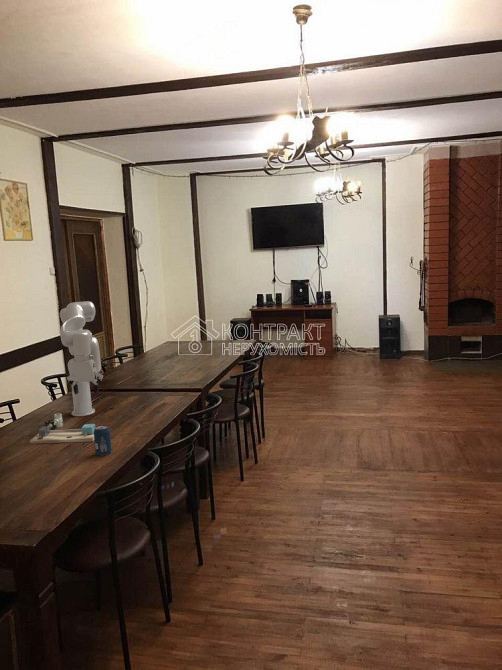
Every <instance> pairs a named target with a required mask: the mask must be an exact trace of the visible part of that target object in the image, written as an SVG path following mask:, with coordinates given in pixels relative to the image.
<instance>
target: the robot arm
mask: <svg viewBox="0 0 502 670" xmlns="http://www.w3.org/2000/svg"><path fill="white" fill-rule="evenodd" d="M95 316H96V307H95V304H94V303H93V302H92V301H89V300H87V301H75V302H70V303H68V304H67V306H66V307H64V308H62V309H61V310H60V312H59V317H60V320H61V322H62V324H61V327H60V330H59V332H60V333H59V334H60V340H61V344H62V345H63V346H64V347H65V348H66V347H67V348H68V351H69V353H70V355H71V356H73V357H74V358H71V359H69V361H68V362H67V369H68V372H69V376H66V379H67V381H68V383H69V384H70V385H71V393H72V401H73V410H72V412H71V415H72V416H73V417H84V416H89V415H93V414H94V413H96V409H95V408H93V406H92V405H93V402H92V397H91V389H90V388H91V387H90V386H91V383H90V382H92V383H93V384H94V385H93V390H94V391H93V392H94V394H98V393H99V391H100V388H99V384H100V383H101V382H102V380H103V377H104V375H103V374H101V373H100V371H101V370H102V362H101V352H100V351H101V350H100V345H99V344H100V343H99V341H98V338H96V336H93V333H92V331H91V330H89V329H83V328H84V327H85V325H86V322H88V323H89V322H92V321H94V320H95Z"/></svg>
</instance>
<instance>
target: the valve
mask: <svg viewBox="0 0 502 670" xmlns="http://www.w3.org/2000/svg"><path fill="white" fill-rule="evenodd" d="M53 417H54V419H53V420H52V421H51V419H48V420H46V421H44V425H43V426H42V427H47V426H49V430H56V429H55V428H61V427H63V426H64V423H63V414H62V413H61V412H58V413H55V414H53Z"/></svg>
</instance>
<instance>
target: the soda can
mask: <svg viewBox="0 0 502 670" xmlns="http://www.w3.org/2000/svg"><path fill="white" fill-rule="evenodd" d="M111 440H112V439H111V429H110V428H109V425H106V424H101V425H97V426H95V430H94V440H93V442H94V450H95V453H96V454H97V456H107V455H110V454H111V452H112V441H111Z"/></svg>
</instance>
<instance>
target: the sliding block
mask: <svg viewBox="0 0 502 670" xmlns="http://www.w3.org/2000/svg"><path fill="white" fill-rule="evenodd" d="M95 427H96V424H95V423H85V424H83V426H82V427H81V429H82V435H85V436H86V435H87V434H93V433H94V430H95Z"/></svg>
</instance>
